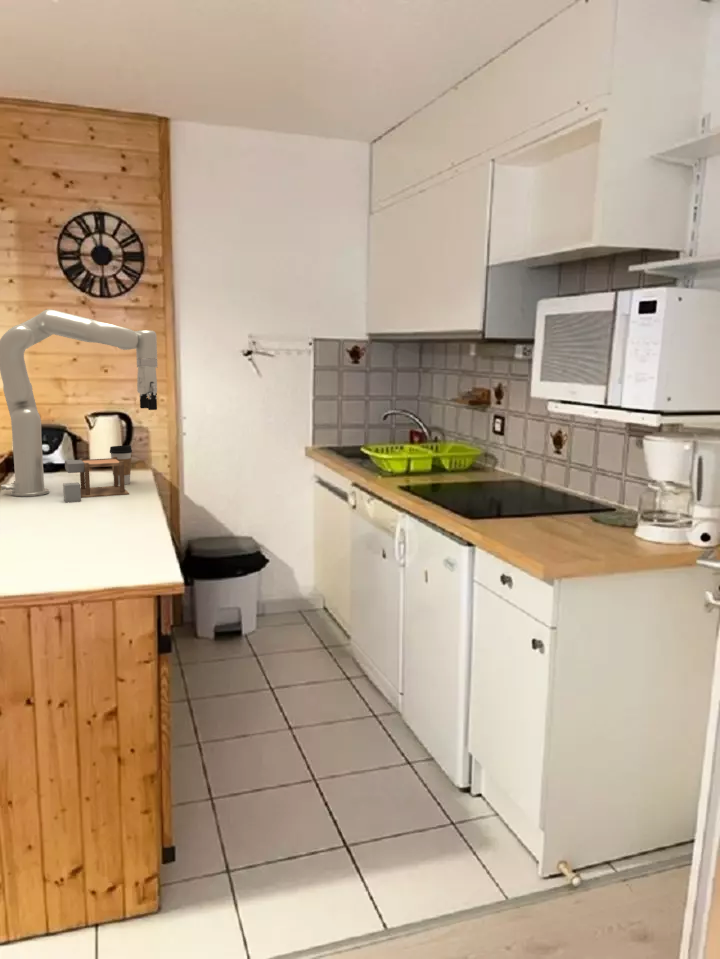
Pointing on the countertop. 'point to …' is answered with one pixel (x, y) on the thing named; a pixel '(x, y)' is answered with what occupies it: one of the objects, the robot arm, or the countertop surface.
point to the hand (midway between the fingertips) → (148, 409)
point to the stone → (72, 492)
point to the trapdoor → (78, 465)
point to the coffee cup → (123, 455)
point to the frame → (107, 490)
